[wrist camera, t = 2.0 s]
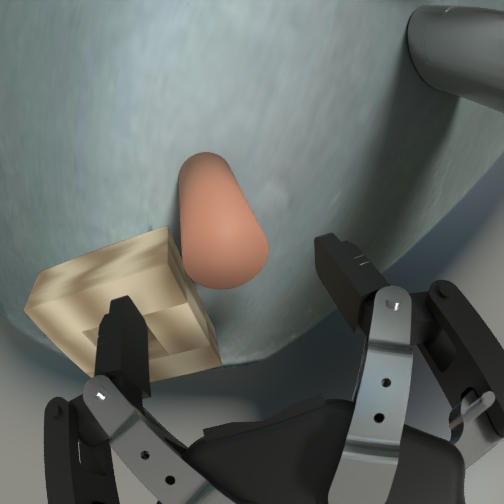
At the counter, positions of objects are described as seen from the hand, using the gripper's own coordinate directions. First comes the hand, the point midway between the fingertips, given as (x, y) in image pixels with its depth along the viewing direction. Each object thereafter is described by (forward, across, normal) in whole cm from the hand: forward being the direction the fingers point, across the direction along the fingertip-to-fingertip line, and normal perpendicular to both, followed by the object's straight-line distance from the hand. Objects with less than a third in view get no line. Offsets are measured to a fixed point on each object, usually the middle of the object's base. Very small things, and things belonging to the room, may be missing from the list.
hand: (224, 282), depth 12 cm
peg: (+12, -1, 0) cm, 12 cm away
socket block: (+12, +10, +10) cm, 19 cm away
